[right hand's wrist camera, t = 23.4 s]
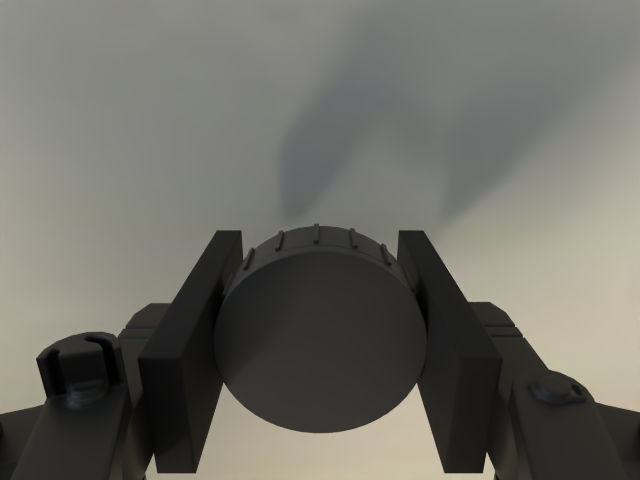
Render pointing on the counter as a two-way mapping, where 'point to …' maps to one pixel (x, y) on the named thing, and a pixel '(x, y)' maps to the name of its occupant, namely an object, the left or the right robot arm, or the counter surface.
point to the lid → (320, 331)
